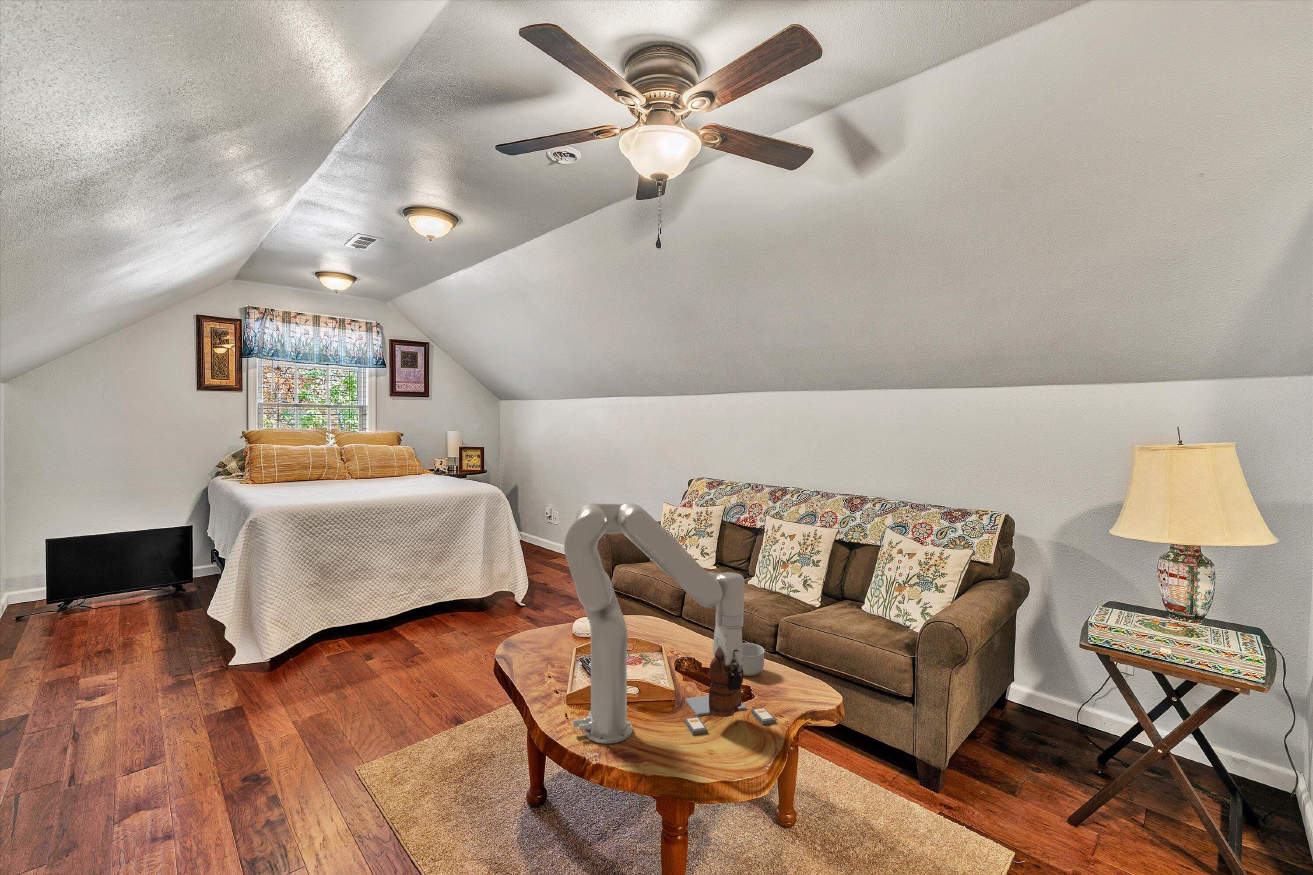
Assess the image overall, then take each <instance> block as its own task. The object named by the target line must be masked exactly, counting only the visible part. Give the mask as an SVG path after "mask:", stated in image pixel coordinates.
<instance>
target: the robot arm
mask: <svg viewBox="0 0 1313 875" xmlns="http://www.w3.org/2000/svg"><path fill="white" fill-rule="evenodd" d="M606 534H610V535H611V534H614V535H615V534H623V535H624V536H625V537H626V538H627V539H628V540H629V541H630V542H631V543H633V545H635V547H637V548H638V549H639V550H640V551H641V552H642V553H643V554H644V555H645V556H646V557H647V558H649V559H650V560H651V561H652V562H653V563H654V564H655V565H656V566H657V567H658V568H659V569H660V570H661V571H662V572H663V573H664V574H666V575H667V576H668V577H670V578H671V579H672V580H673V581H674V582H675V583H676V584H677V585H678V586H679V587H681V589H682V590H683V591H684V592H686V593H687V595H689V596H690V597H691V598H692V599H693V600H694V601H695V602H696V603H697V604H699V605H700V606H702V607H703V608H713V607H715V627H714V634H713V646H712V652H713V656H714V655H715V652H716V650H717V649H718V647H720V648H721V649H722V651H723V653H724V661H723V664H724V665H725V666H727V665H729V670H730V674H729V685H728V689H729V690H738V689H740V687H741V685H740V681H741V672H742V668H743V662H742V643H743V632H742V627H743V626H744V612H745V611H744V609H745V607H744V606H745V578H744V576H743V575H742V574H741V573H738V572H731V571H730V572H729V571H727V572H721V573H719V572H711V571H708V570H705V569H704V567H702V565H701V564H699V563H698V562H697V561H696V560H695V559H694V558H693V557H692V555H690V554H689V553H688V551H687V550H686V549H685V548H684V546H683V545H682V543H680V542H679V541H678V540H677V539H676V538H675V537H674V536H673V535H672V534H671V533H669V532H668V531H667V530H666V528H664V527H663V526H662V524H660V523H659V522H658V521H657V520H656V519H654V518H653V516H652V515H650V514H649V512H647V511H646V510H645V509H644V508H643V507H642V506H641V505H638V504H636V503H588V504H585V505H583V506H582V507H580V508H579V509H578V510H577V512H576V515H575V520H574V521H573V523H572V524H571V525H570V527H568V530H567V533H566V534H565V538H564V544H563V545H564V546H563V549H564V555H565V560H566V563H567V565H568V569H569V571H570V574H571V578H572V581H573V583H574V587H575V590H576V593H577V598H578V600H579V602H580V604H581V605H582V606H583V609H584V612H585V615H586V618H587V620H588V624H589V632H590V711H589V712H587V713H588V714H587V716H584V718H574V719H572V727H573V728H578V730H579V731H584V734H585V736H586V738H587V739H588V740H590V741H591V742H595V743H597V744H617V743H619V742H622V741H623V742H624V741H625V740H626V739H628V738H629V737H631V735H632V733H633V725H632V723H631V722H630V721H629V720H628V719H627V718H628V716H627V714H628V712H627V710H628V709H627V706H628V704H627V703H628V701H627V699H628V697H627V696H628V693H627V692H628V690H627V689H628V688H627V687H628V686H627V685H628V684H627V683H628V674H627V669H628V668H627V665H628V663H627V662H628V660H627V659H628V657H627V656H628V654H627V653H628V642H629V640H628V639H629V635H628V633H629V632H628V628H627V623H626V619H625V617H624V614H623V611H622V609H621V606H620V604H619V601H618V598H617V595H616V592H615V590H614V586H613V583H612V581H611V577H610V576H609V574H608V573H607V572H606V571H605V568H604V565H603V563H602V560H601V556H600V553H599V550H598V544H599V541H600V539H601V538H602V537H603V536H604V535H606ZM732 659H734V661H736V662H734V663H731V662H732ZM732 666H736V667H735V668H734V670H733V667H732Z"/></svg>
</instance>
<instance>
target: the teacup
mask: <svg viewBox="0 0 1313 875" xmlns="http://www.w3.org/2000/svg"><path fill="white" fill-rule="evenodd" d="M765 652H766V650H765V649H764V647H763V646H761V645H759V644H757V643H752V642H742V661H743V668H742V669H743V671H744V674H743V676H744V677H753V676H756V675H758V674H759V673H760V672H762V671H763V670H764V667H765Z"/></svg>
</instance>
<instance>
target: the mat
mask: <svg viewBox="0 0 1313 875" xmlns="http://www.w3.org/2000/svg"><path fill="white" fill-rule="evenodd" d="M685 702H686V703H687V705H688V706H689V707H690V709H691V710H692V712H693V713H694V714H695V715H696V716H695V717H700V716H701V717H702V716H706V715H711V714H710V711H709V694H708V695H702V696H700V695H699V696H694V697H687V698H686V697H685ZM738 708H739V710H738V711H743V710H747V707H746V705H744V704H743V702H742V701H741V706H740V707H738Z"/></svg>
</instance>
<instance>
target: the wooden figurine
mask: <svg viewBox="0 0 1313 875" xmlns="http://www.w3.org/2000/svg"><path fill="white" fill-rule="evenodd" d="M713 656H714V657H713V658H712V660H711V662H710V665H709V672H708V673H709V674H708V677H709V679H710V681H711V683H710V685H709V691H708V695H709V711H710V714H709V715H711V716H714V717H719V718H729V717H732V716H734V714H735V713H737V712H739V711H740V710H739V708H738V707H740V706H741V702H742V687H741V685H742V684H743V683H744V675H743V674H744V671H743V669H742V672H741V681H740V689H738V690H729V689H728V685H729V674H730V670H729V665H727V666H725V665H724V664H723V661H724V653H723V651H722V649H721V648H720V647H718V649H717V650H716V652H715V655H714V654H713ZM734 662H736V661H734V659H732V662H731V663H734ZM742 662H743V661H742ZM732 667H733V670H734V668H735V667H736V666H732Z"/></svg>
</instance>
